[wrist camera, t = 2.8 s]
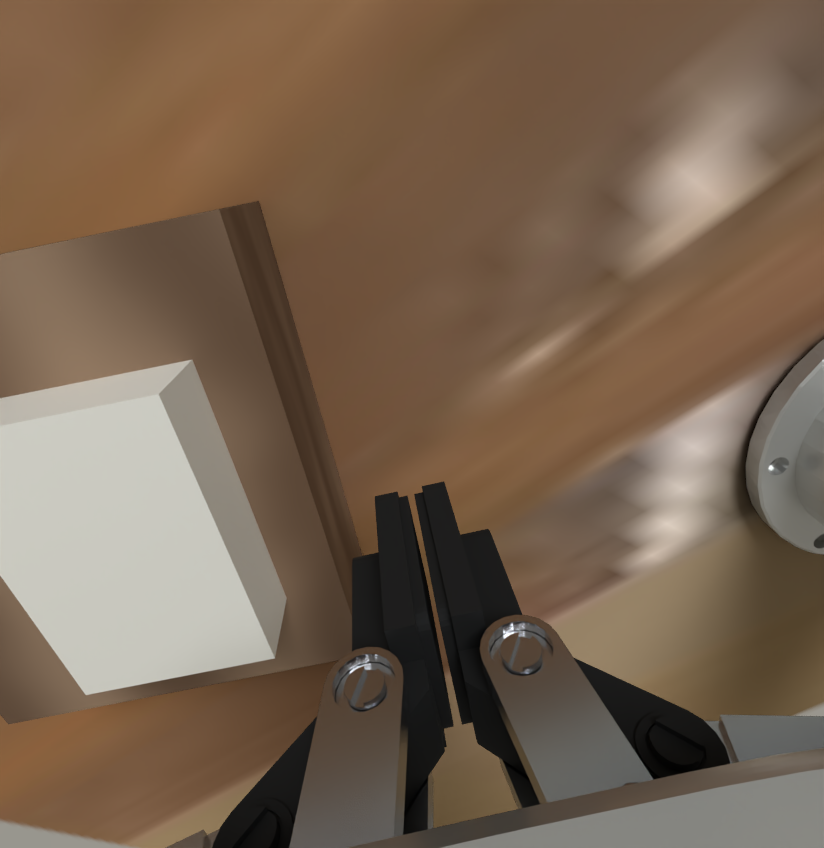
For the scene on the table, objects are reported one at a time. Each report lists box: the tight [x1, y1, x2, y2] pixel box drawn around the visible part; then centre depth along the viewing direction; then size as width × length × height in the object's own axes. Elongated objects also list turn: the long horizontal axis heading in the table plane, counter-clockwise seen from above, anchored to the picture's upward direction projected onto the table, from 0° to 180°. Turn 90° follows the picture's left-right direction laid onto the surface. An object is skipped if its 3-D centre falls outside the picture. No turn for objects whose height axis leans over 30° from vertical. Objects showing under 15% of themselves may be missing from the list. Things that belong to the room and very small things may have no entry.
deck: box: [0, 201, 362, 724], centre depth 18 cm, size 14×16×5 cm
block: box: [0, 360, 287, 695], centre depth 15 cm, size 6×9×2 cm, turn 10°
